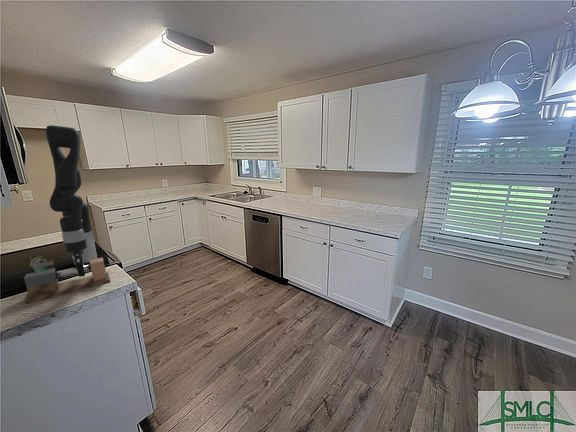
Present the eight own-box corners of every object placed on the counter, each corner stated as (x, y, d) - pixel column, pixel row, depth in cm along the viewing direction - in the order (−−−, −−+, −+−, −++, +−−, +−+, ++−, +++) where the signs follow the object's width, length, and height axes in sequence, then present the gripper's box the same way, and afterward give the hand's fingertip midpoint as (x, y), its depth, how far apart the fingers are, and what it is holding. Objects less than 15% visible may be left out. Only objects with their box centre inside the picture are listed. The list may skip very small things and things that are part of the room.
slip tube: (48, 281, 104) (46, 274, 103) (48, 278, 106) (47, 272, 105) (98, 269, 115) (97, 263, 114) (97, 267, 117) (96, 261, 116)
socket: (93, 281, 113) (90, 263, 111) (93, 277, 117) (89, 260, 115) (106, 278, 117) (103, 261, 114) (105, 274, 121) (102, 257, 118)
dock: (25, 303, 98) (22, 291, 97) (29, 293, 106) (25, 281, 104) (110, 281, 116) (108, 270, 114) (108, 274, 123) (106, 263, 122)
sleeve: (26, 287, 99) (24, 278, 98) (28, 283, 103) (25, 274, 102) (56, 280, 105) (54, 271, 104) (57, 276, 109) (55, 268, 108)
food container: (29, 279, 118) (24, 259, 115) (46, 273, 123) (41, 255, 121) (40, 285, 112) (35, 265, 110) (57, 279, 118) (53, 260, 115)
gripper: (85, 241, 105) (93, 277, 109) (85, 233, 116) (91, 267, 120) (62, 245, 101) (71, 283, 105) (63, 237, 111) (71, 271, 115)
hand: (82, 274), depth 112 cm, fingers closed on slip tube, 3 cm apart
